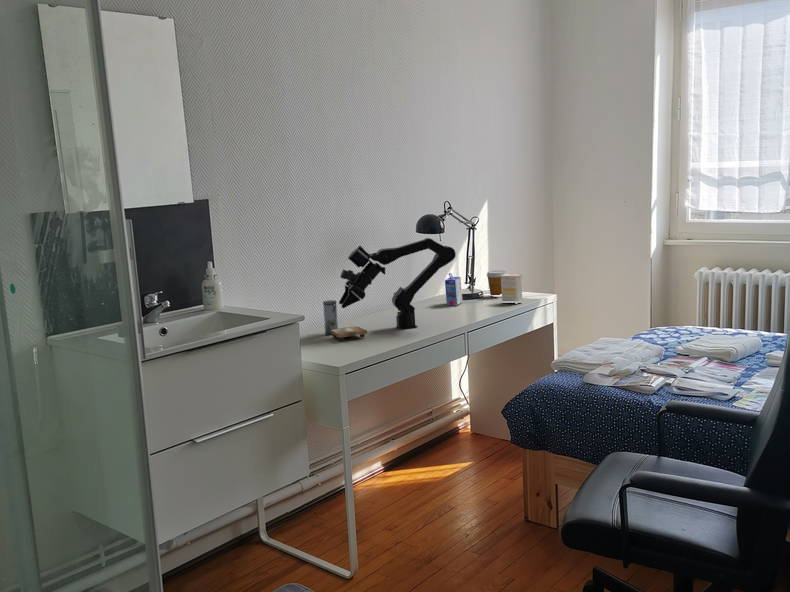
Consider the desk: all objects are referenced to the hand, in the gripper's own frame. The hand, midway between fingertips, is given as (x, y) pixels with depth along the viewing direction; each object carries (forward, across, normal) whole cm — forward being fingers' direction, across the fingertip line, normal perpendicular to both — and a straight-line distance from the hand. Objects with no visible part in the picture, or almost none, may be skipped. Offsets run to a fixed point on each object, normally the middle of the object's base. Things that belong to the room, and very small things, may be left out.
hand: (340, 305), depth 295 cm
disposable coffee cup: (-49, -54, +64) cm, 98 cm away
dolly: (+7, +10, +9) cm, 15 cm away
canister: (+11, 0, +5) cm, 12 cm away
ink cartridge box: (-32, -43, +47) cm, 72 cm away
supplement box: (-49, -33, +64) cm, 87 cm away
